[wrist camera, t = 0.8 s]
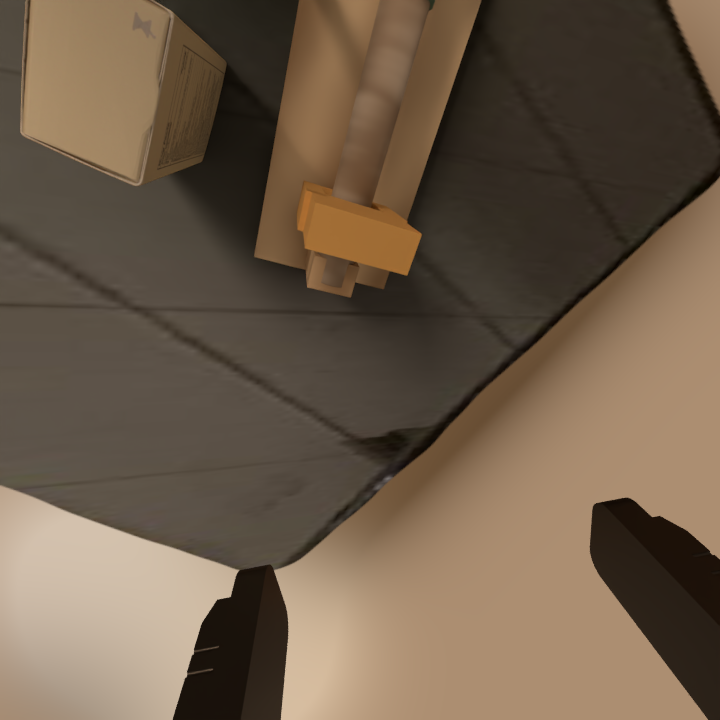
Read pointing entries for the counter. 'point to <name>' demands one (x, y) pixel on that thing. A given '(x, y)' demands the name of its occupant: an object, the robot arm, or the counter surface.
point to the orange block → (355, 230)
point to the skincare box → (118, 86)
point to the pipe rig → (358, 118)
